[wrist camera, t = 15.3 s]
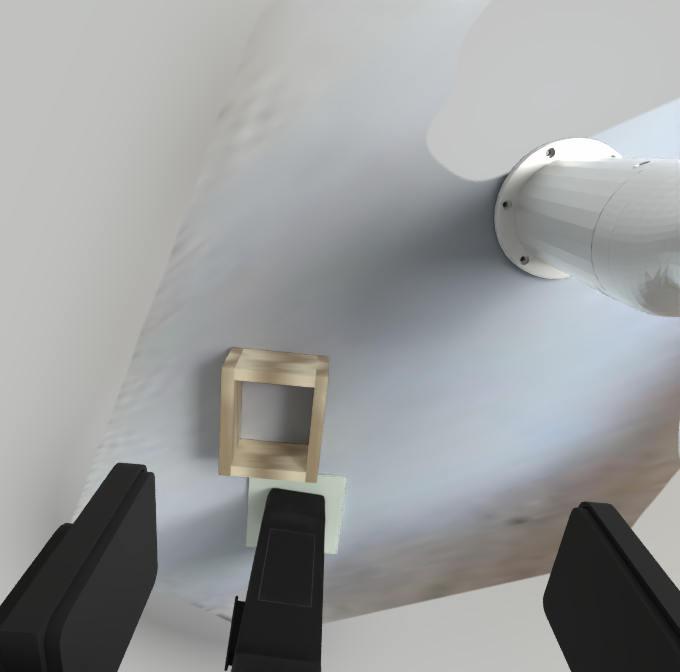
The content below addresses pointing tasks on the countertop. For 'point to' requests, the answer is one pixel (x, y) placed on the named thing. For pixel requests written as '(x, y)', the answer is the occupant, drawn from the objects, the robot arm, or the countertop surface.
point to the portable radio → (283, 590)
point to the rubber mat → (325, 486)
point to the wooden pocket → (267, 455)
